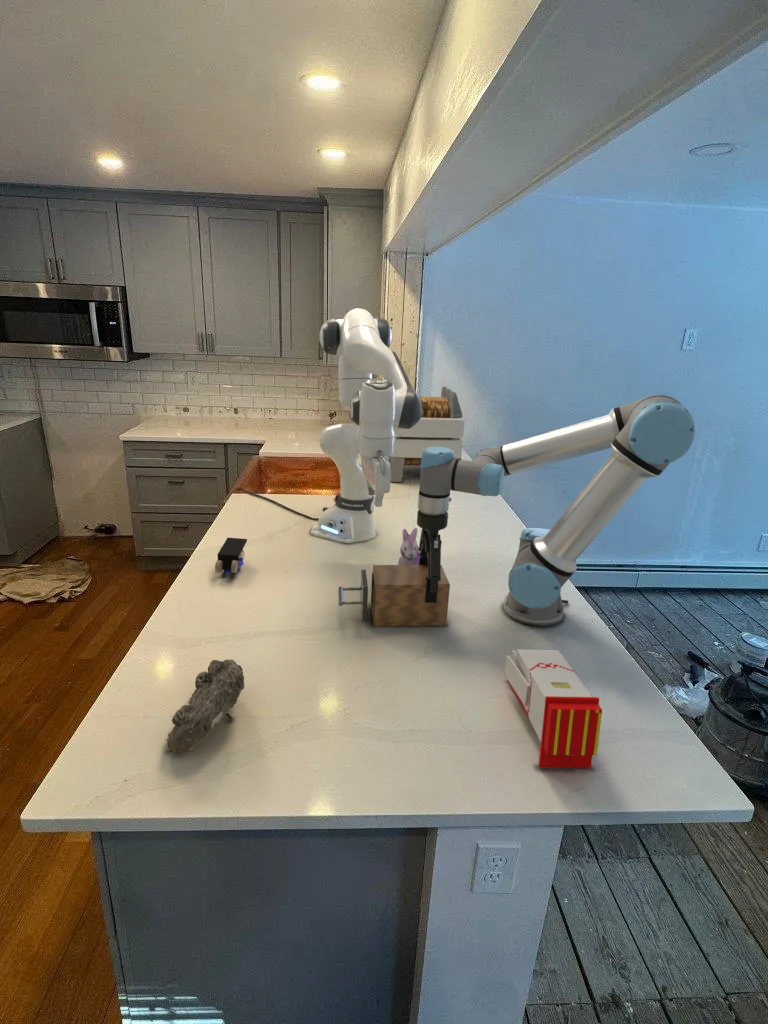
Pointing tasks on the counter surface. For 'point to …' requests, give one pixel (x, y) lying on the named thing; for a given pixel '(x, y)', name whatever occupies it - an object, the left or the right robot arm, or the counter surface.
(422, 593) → the cabinet
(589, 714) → the toy
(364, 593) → the drawer
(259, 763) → the counter surface
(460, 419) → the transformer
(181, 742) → the fossil
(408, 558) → the figurine
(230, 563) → the figurine character
